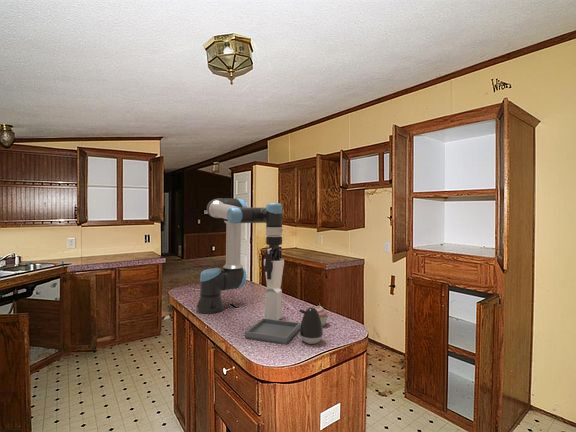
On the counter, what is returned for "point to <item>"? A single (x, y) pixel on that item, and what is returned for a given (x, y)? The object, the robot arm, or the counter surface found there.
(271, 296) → the milk carton
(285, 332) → the tray
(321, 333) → the pump dispenser
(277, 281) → the foam cup
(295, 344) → the counter surface
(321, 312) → the cupcake
